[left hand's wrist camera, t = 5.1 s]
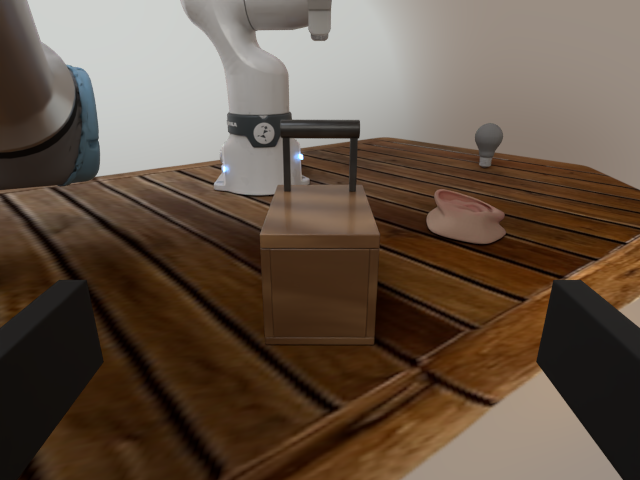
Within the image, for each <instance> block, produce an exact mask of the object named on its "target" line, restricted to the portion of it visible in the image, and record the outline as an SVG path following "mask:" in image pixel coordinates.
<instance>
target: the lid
mask: <svg viewBox="0 0 640 480" xmlns="http://www.w3.org/2000/svg"><path fill="white" fill-rule="evenodd" d="M280 134H281V138H283V173H284V185H277V188H276V191H275V194H274V197H273V199H272V202H271V205H270V208H269V211H268V213H267V216H266V219H265V222H264V225H263V228H262V230H261V233H260V247H261V248H379V245H380V234H379V231H378V228H377V225H376V222H375V220H374V217H373V214H372V211H371V208H370V206H369V203H368V200H367V197H366V194H365V191H364V189H363V186H362V185H356V173H357V142H358V138H359V136H360V121H359V120H281V121H280ZM290 138H350V167H349V185H291V165H290Z"/></svg>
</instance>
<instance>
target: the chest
mask: <svg viewBox="0 0 640 480" xmlns="http://www.w3.org/2000/svg"><path fill="white" fill-rule="evenodd" d="M378 263H379V248H261V269H262V289H263V309H264V329H265V344H266V345H374V336H375V318H376V300H377V281H378Z"/></svg>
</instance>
